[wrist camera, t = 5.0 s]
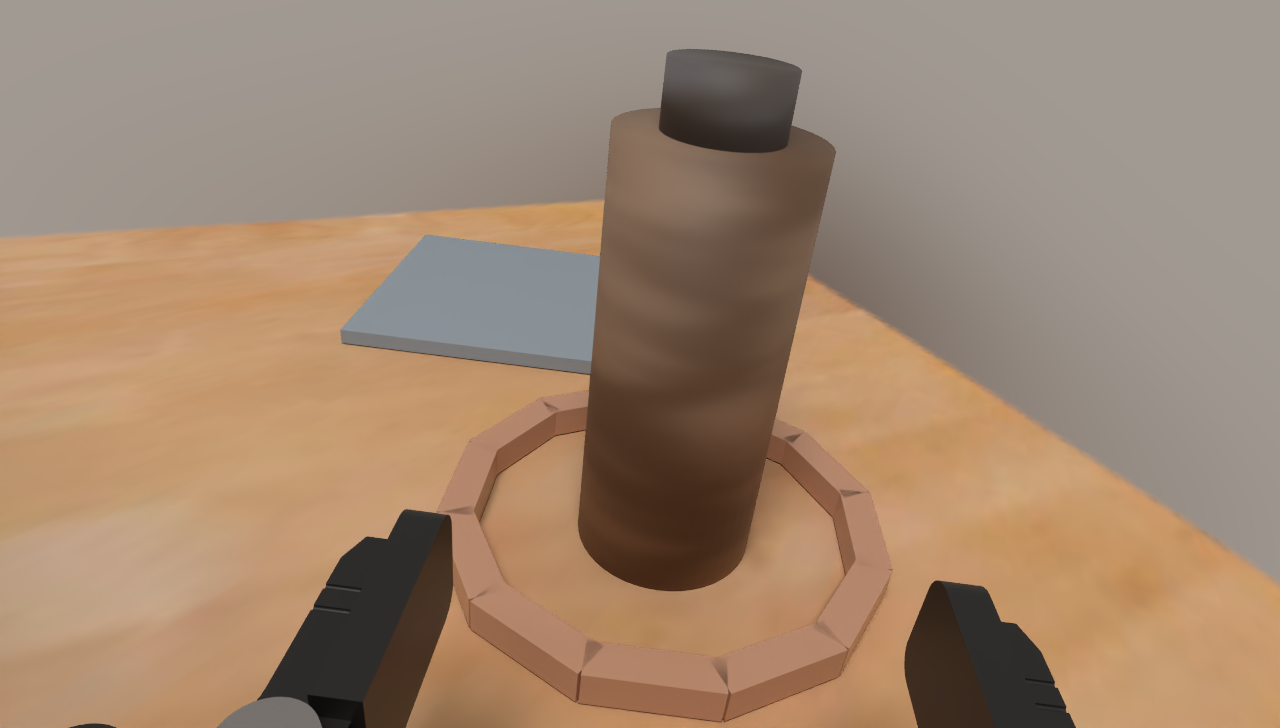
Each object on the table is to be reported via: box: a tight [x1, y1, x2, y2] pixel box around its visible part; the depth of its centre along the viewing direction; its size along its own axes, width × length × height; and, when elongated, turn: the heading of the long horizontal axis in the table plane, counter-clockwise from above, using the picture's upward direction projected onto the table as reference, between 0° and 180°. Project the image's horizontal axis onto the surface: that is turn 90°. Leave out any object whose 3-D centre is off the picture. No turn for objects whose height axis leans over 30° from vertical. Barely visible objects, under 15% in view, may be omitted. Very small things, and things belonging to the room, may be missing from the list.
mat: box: [341, 235, 600, 374], centre depth 36 cm, size 11×11×1 cm
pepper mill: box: [578, 49, 836, 591], centre depth 21 cm, size 5×5×14 cm
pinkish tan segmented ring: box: [437, 390, 893, 722], centre depth 24 cm, size 13×13×1 cm
